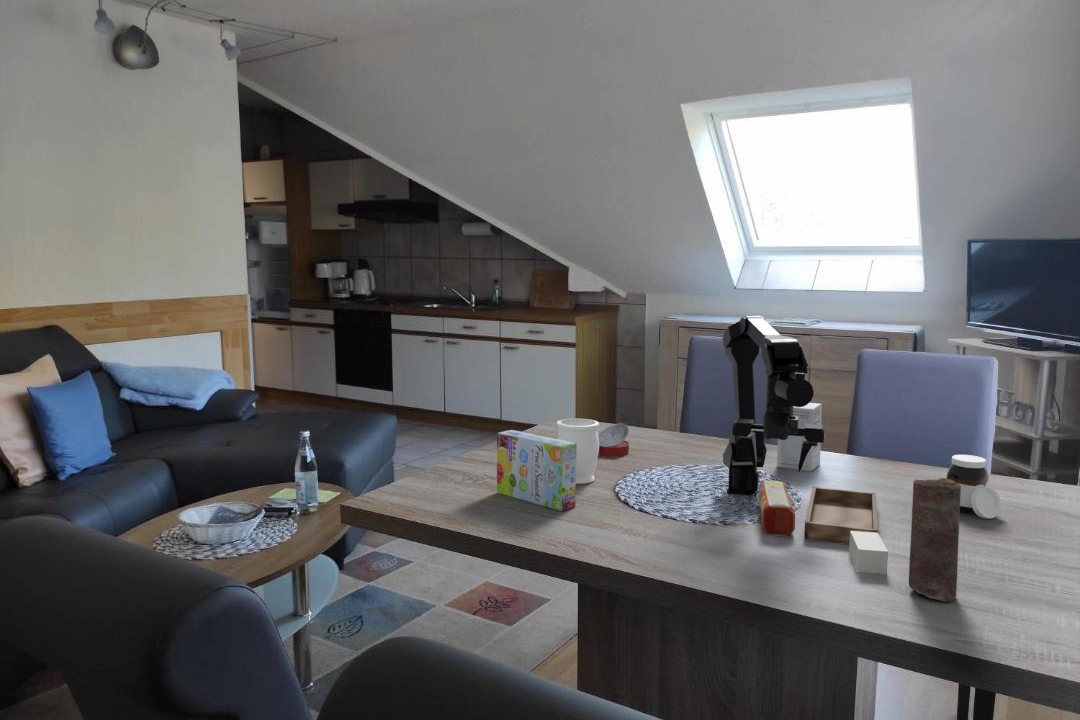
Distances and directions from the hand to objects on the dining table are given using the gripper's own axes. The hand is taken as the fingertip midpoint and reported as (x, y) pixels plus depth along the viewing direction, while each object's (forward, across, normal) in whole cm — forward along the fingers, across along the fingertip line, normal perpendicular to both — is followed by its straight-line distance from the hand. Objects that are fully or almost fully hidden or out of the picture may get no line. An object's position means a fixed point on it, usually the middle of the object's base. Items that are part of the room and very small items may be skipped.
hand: (776, 469), depth 175 cm
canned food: (+12, -49, +43) cm, 67 cm away
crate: (+11, +14, +3) cm, 18 cm away
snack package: (+12, 0, 0) cm, 12 cm away
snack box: (+11, -54, -6) cm, 55 cm away
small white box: (+11, +18, -19) cm, 29 cm away
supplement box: (+11, +2, +48) cm, 49 cm away
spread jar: (+11, +41, +22) cm, 47 cm away
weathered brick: (+11, +28, -30) cm, 43 cm away
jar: (+11, -50, +13) cm, 52 cm away
